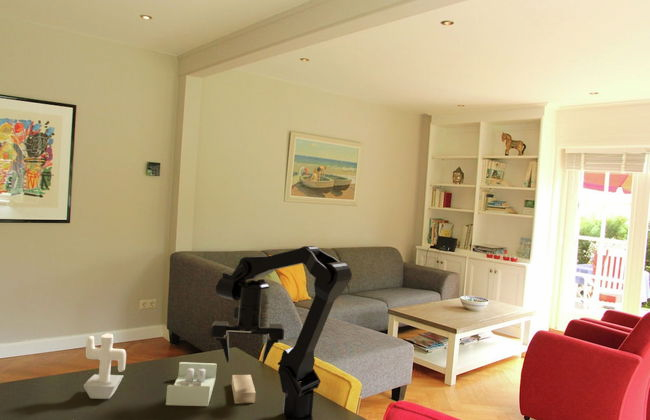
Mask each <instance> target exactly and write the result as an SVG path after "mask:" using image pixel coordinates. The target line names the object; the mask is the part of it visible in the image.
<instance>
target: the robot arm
mask: <svg viewBox="0 0 650 420" xmlns="http://www.w3.org/2000/svg"><path fill="white" fill-rule="evenodd" d="M298 265H304V266H305V267H306V269H307V271H308V273H309V274H310V275H312V276H313V277H314V283H313V287H314V297H313V300H312V302H311V304H310V307H309V310H308V312H307V315H306V317H305V319H304V322H303V325H302V327H301V330H300V332H299V335H298V338H297V340H296V342H295V344H294V346H292V347H288V348H287V349H284V350H283V351H282V353H281V357H280V360H279V362H278V363H277V366H278V369H277V370H278V371H277V373H278V375H279V380H280V386H281V390H282V393H284V398H283V405H282V406H283V407H282V408H283V409H282V411H283V415H284V416H285V418H284V419H285V420H314V418H313V408H314V398H315V397H314V396H315V392H314V390H315V389H318V388H319V386H320V384H321V379H320V377H319V376H318V373H317V372H316V371H315V369H314V366H315V361H316V360H315V353H314V352H315V349H316V347H317V345H318V342H319V339H320V337H321V334H322V332H323V329H324V328H325V325H326V322H327V320H328V317H329V315H330V312H331V311H332V310H331V309H332V307H333V306H334V303H335V301H336V300H337V298H339V297H340V295H342V293H343V292H344V291H345V290H346V288H347V286H348V285H349V283H350V281H351V280H352V277H353V274H352V271H351V268H350V266H349V265H348V264H347V263H346V262H343V261H340V260H338V259H337V258H336V257H333V256H332V255H330V254H328V253H326V252H325V251H323V250H322V249H320V248H319V247H317V246H316V245H304V246H302V247H300V248H295V249H292V250H288V251H284V252H279V253H276V254H275V253H274V254H272V255H256V256H255V255H254V256H245V257H244V256H243V257H242V258H240V260H239V262H238V265H237V267H236V268H235V270H234V271H233V272H232V273H231V272H223V273H222V277H221V278H220V279H219V280H218V282H217V284H216V286H215V291H216V294H217V296H218V297H221V298H224V299H228V300H231V301H232V300H233V301H239V305H238V307H236V306H235V307H234V310H233V320H237V325H230V324H229V321H227V320H226V321H225V320H215V321H214V322H213V323H212V325H211V327H210V337H212V338H213V337H214V338H215V341H219V343H220V345H221V347H222V350H223V352H224V353H223V354H224V356H225V361H226V363H229V361H230V341H229V339H230V338H229V337H230V335H229V334H244V335H246V334H249V335H266V339H265V345H264V349H263V354H262V365H263V364H265V362H266V360H267V358H268V355H269V353H270V351H271V349H272V348H273V346H274V344H277V343H279V341H283V340H284V337H285V327H284V325H283V324H282V323H268V326H267V327H266V326H260V325H261V309H262V297H263V290H269V289H270V285H269V284H268V283H267V282H266V281H265V279H259V278H263V277H266V276H268V275H270V274H272V273H273V272H274V271H276V270H280V269H284V268H289V267H293V266H294V267H295V266H298ZM255 279H258V280H255Z"/></svg>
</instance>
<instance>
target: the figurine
mask: <svg viewBox="0 0 650 420" xmlns="http://www.w3.org/2000/svg"><path fill="white" fill-rule="evenodd" d="M113 344H114V334H113V333H112V332H109V333H108V332H106V333H104V334H102V335H101V336H100V347H96V346H95V336H94V335H90V336H89V335H88V336H87V338H86V345H85V357H86V358H87V359H89V360H99V365H98V367H99V368H98V373H97V374H96V373H94V374H93V375H92V376H91V377H90V378H88V380H86V382H85V383H84V384H83V388H84V390H85V392H86V393H87V395H88V396H89V398H90V399H98V400H99V399H100V400H109V399H110V398H111V397H112V396H113V395H114V393H116V390H117V389H118V387H119V385H120V383H121V381H122V380H123V378H124V375H123V374H122V375H119V374H111V368H112V367H111V366H112V361H117V371H118V372H119V373H120V372H124V371H125V370H126V363H127V352H126V350H125V349H124V348H113V346H114V345H113Z"/></svg>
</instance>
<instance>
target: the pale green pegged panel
mask: <svg viewBox="0 0 650 420" xmlns="http://www.w3.org/2000/svg"><path fill="white" fill-rule="evenodd" d="M216 375H217V363H210V362H209V363H207V362H189V361H180V362H179V363H178V376H177V378H176V379H175V382H174V384H168V385H167V386H166V397H165V405H166V406H187V407H189V406H191V407H193V406H194V407H209V403H210V401H211V396H212V393H213V390H214V386H215V382H216Z"/></svg>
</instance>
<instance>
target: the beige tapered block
mask: <svg viewBox="0 0 650 420" xmlns="http://www.w3.org/2000/svg"><path fill="white" fill-rule="evenodd" d="M231 390H232V394H233V401H234V404H254V403H255V402H256V395H257V394H256V393H257V392H256V389H255V385H254V382H253V378H252V375H251V374H232V375H231Z"/></svg>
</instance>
